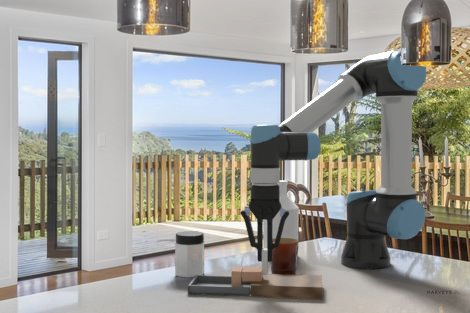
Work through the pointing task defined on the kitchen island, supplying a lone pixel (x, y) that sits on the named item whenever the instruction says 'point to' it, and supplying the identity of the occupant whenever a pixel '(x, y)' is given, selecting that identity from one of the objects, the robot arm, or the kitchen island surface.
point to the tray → (217, 286)
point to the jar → (189, 254)
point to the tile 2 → (252, 274)
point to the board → (288, 286)
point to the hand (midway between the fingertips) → (264, 273)
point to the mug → (285, 256)
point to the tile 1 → (237, 277)
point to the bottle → (291, 221)
